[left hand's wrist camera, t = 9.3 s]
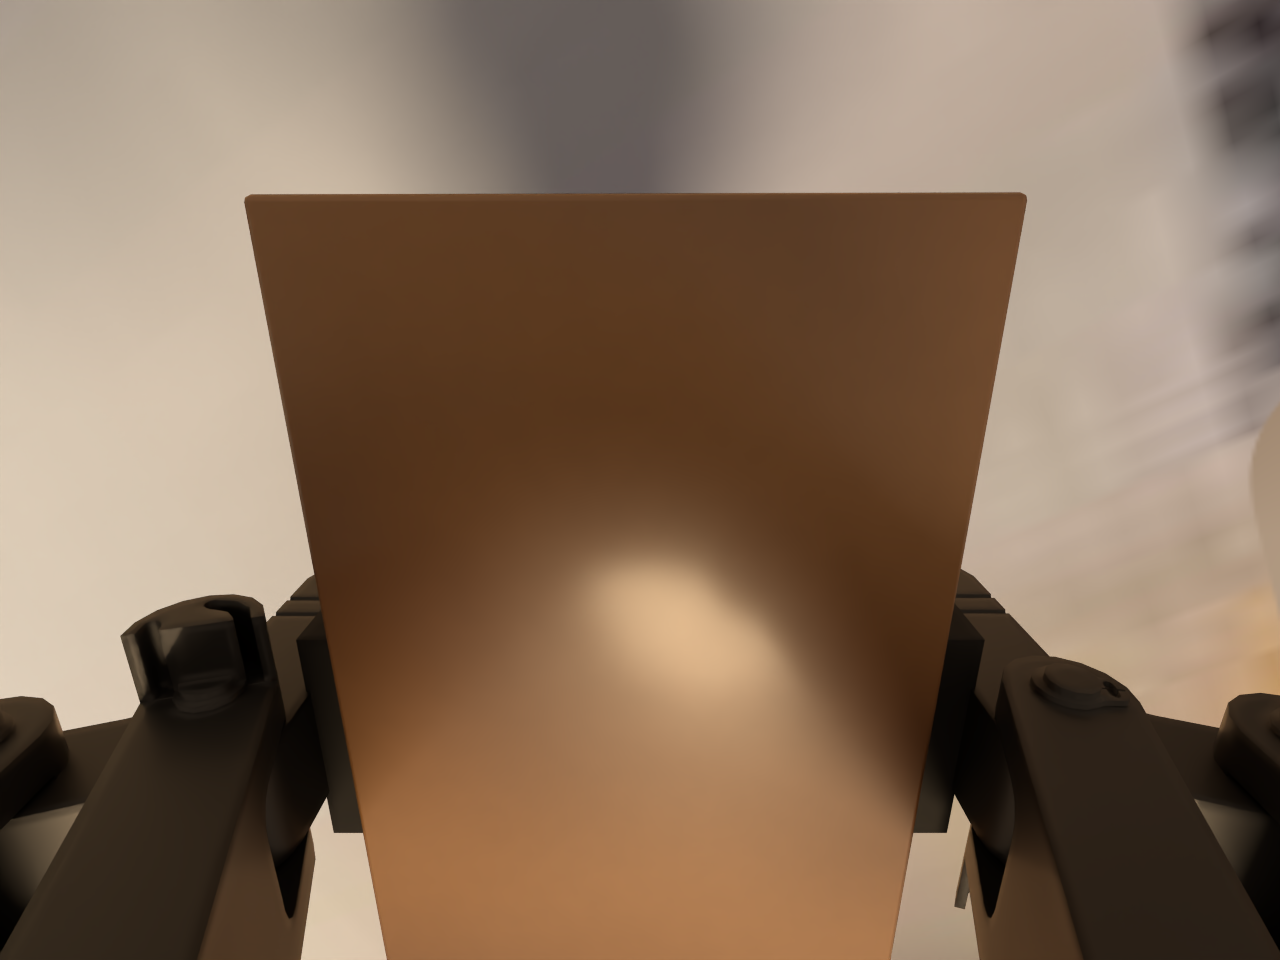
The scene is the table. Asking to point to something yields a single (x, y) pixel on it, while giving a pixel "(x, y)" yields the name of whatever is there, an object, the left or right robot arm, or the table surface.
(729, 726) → the beam
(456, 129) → the table surface
